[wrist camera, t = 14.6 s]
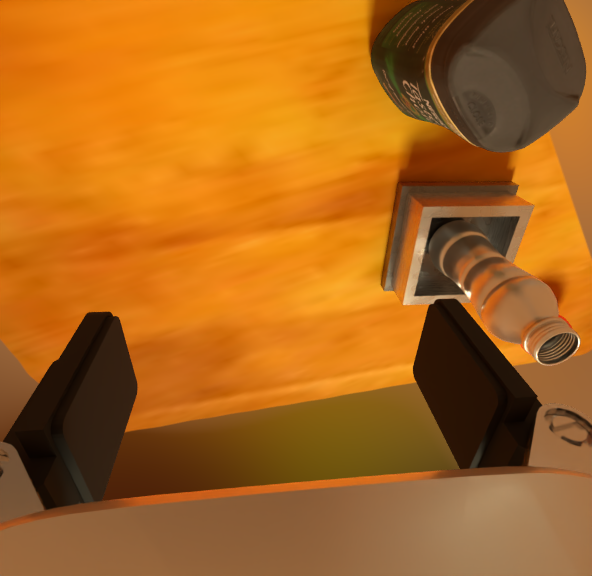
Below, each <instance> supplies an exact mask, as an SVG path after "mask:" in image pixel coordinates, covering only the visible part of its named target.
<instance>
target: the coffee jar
mask: <svg viewBox="0 0 592 576" xmlns="http://www.w3.org/2000/svg"><path fill="white" fill-rule="evenodd" d="M371 63H372V67H373V70H374V72H375V74H376V76H377V78H378V80H379V82H380V84H381V86H382V87H383V89H384V90H385V92H386V93H387V95H388V96H389V98H390V99H391V100H392V102H393V103H394V104H395V105H396V106H397V107H398V108H399V109H400V110H401V111H402V112H403V113H404V114H405V115H407V116H409V117H412V118H415V119H418V120H422V121H427V122H431V123H434V124H437V125H440V126H443V127H445V128H447V129H449V130H451V131H452V132H454V133H456V134H457V135H458V136H460V137H461V138H463V139H464V140H466V141H467V142H469V143H470V144H472V145H474V146H477V147H481V148H484V149H486V150H489V151H493V152H511V151H515V150H519V149H522V148H525V147H526V146H528V145H530V144H531V143H533V142H534V141H536V140H537V139H538V138H540V137H541V136H543V135H544V134H546V133H547V132H548V131H549V130H551V129H552V128H553V127H555V126H556V125H557V124H558V123H559V122H561V121H562V120H563V119H564V118H565V117H566V116H568V115H569V114H570V113H571V112H572V111H573V110H574V109H575V108H576V107H577V106H578V103H579V99H580V97H581V95H582V92H583V89H584V85H585V79H586V63H585V58H584V54H583V50H582V47H581V44H580V41H579V38H578V34H577V31H576V28H575V26H574V23H573V20H572V18H571V16H570V13H569V11H568V9H567V7H566V4H565V2H564V0H419V1H416V2H413V3H411V4H409V5H407V6H406V7H405V8H403V9H402V10H401V11H400V12H399V13H398V14H397V15H395V16H394V17H393V18H392V19H391V20H390V21H389V22H388V23H387V25H386V26H385V27H384V28H383V29H382V31H381V32H380V33H379V35H378V36H377V38H376V40H375V42H374V44H373V48H372V52H371Z"/></svg>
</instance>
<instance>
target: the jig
mask: <svg viewBox="0 0 592 576" xmlns="http://www.w3.org/2000/svg"><path fill="white" fill-rule="evenodd" d="M518 186H519V185H517V184H515V183H513V182H398V186H397V192H396V198H395V204H394V210H393V216H392V222H391V228H390V234H389V239H388V245H387V251H386V257H385V263H384V269H383V275H382V281H381V286H382V288H383V290H384V291H394V292H395V293H396V295H397V297H398V298H399V300H400V302H401V303H402V305H416V304H434V301H435V300H436V299H450V298H455V299H457V300H458V301H459V302H460V303H467V302H471V301H470V300H469V299H468V297H467V296H466V294H465V293H464V292H463V290H462V289H461V288H460V287H459V286H458V285H457V284H456V283H455V282H454V281H453V280H451V279H450V278H449V277H447V276H446V275H444V274H443V273H442V272H440V271H439V270H438V269H437V268H436V267H435V266H434V264H433V262H432V260H431V258H430V255H429V244H430V240H431V238H432V236H433V234H434V233H435V232H436V230H437V229H439V228H440V227H441V226H442V225H444V224H446V223H448V222H452V221H456V220H463V221H467V222H469V223H472V224H474V225H476V226H477V227H479V228H480V229H481V230H482V231H483V233H484V234H485V235H486V236H487V238H488V240H489V242H490V243H491V244H492V245H493V246H494V248H495V249H496V250H497V251H498V252H499V253H500V254H501V255H502V256H504V257H505V258H506V259H507V260H509V261H510V262H512V263H513V262H514V259H515V256H516V254H517V251H518V248H519V245H520V243H521V240H522V237H523V235H524V232H525V229H526V227H527V224H528V221H529V219H530V216H531V213H532V211H533V208H534V205H533V204H531V203H529V202H527V201H525V200H524V199H522V198H520V197H518V196H516V192H517V189H518Z"/></svg>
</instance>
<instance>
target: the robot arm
mask: <svg viewBox="0 0 592 576" xmlns="http://www.w3.org/2000/svg"><path fill="white" fill-rule="evenodd" d="M413 374H414V378H415V380H416V382H417V384H418V386H419V388H420V390H421V392H422V394H423V396H424V398H425V400H426V402H427V404H428V406H429V408H430V410H431V412H432V414H433V416H434V417H435V420H436V422H437V424H438V426H439V428H440V430H441V432H442V434H443V436H444V438H445V440H446V442H447V444H448V446H449V448H450V450H451V452H452V454H453V455H454V458H455V460H456V461H457V463H458V466H459V468H460V469H456V470H441V471H429V472H417V473H404V474H392V475H380V476H367V477H355V478H343V479H332V480H321V481H308V482H297V483H286V484H274V485H263V486H251V487H240V488H230V489H218V490H207V491H196V492H187V493H186V492H185V493H175V494H165V495H153V496H144V497H136V498H126V499H116V500H108V501H102V499H103V496H104V493H105V490H106V487H107V484H108V481H109V478H110V475H111V472H112V469H113V465H114V463H115V459H116V456H117V453H118V450H119V447H120V444H121V441H122V438H123V435H124V432H125V429H126V426H127V423H128V420H129V417H130V414H131V411H132V407H133V404H134V401H135V398H136V395H137V381H136V377H135V373H134V370H133V366H132V362H131V359H130V355H129V352H128V348H127V344H126V341H125V337H124V333H123V330H122V326H121V323H120V320H119V318H118V317H117V316H113V315H112V313H111V312H89V313H87V314H86V316H85V317H84V319H83V320H82V322H81V324H80V325H79V327H78V329H77V330H76V332H75V333H74V335H73V337H72V338H71V340H70V342H69V343H68V345H67V346H66V348H65V350H64V351H63V353H62V355H61V356H60V358H59V359H58V360H56V361H54V362H53V363H52V365H51V366H50V367H49V369H48V370H47V372H46V374H45V375H44V377H43V378H42V380H41V382H40V383H39V385H38V386H37V388H36V390H35V391H34V393H33V394H32V396H31V398H30V399H29V401H28V402H27V404H26V406H25V407H24V409H23V410H22V412H21V414H20V415H19V417H18V418H17V420H16V421H15V423H14V425H13V426H12V428H11V429H10V431H9V433H8V434H7V436H6V437H5V439H4V440H3V442H0V576H592V419H591V418H590V417H588V416H587V415H586V414H584V413H583V412H581V411H579V410H577V409H574V408H572V407H569V406H566V405H563V404H556V403H550V404H545V405H543V406H542V404H541V403H540V402H539V401H538V400H537V395H536V394H535V393H534V391H533V390H532V389H531V388H530V387H529V385H528V384H527V383H526V382H525V381H524V379H523V378H522V377H521V376H520V375H519V373H518V372H517V371H516V370H515V368H514V367H513V366H512V365H511V364H510V362H509V361H508V360H507V359H506V358H505V356H504V355H503V354H502V353H501V352H500V350H499V349H498V348H497V347H496V346H495V344H494V343H493V342H492V341H491V340H490V338H489V337H488V336H487V335H486V334H485V332H484V331H483V330H482V329H481V328H480V326H479V325H478V324H477V323H476V321H475V320H474V319H473V318H472V317H471V315H470V314H469V313H468V312H467V311H466V309H465V308H464V307H463V306H462V305H461V303H460V302H459V301H458V300H457V299H455V298H450V299H436V300H435V301H434V304H430V305H429V307H428V311H427V315H426V319H425V323H424V326H423V330H422V334H421V338H420V342H419V346H418V350H417V354H416V358H415V362H414V365H413Z"/></svg>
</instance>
